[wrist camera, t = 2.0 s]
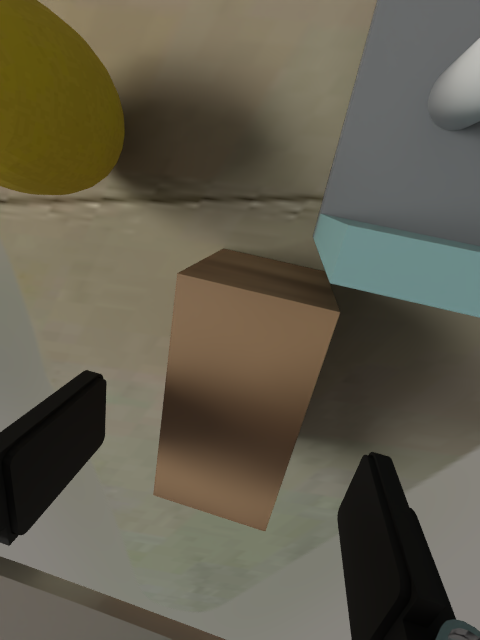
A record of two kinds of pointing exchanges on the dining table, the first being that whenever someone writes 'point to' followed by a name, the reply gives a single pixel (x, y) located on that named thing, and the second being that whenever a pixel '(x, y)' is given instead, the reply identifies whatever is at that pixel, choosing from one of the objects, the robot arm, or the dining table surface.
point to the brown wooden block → (240, 381)
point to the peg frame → (410, 161)
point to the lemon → (53, 105)
